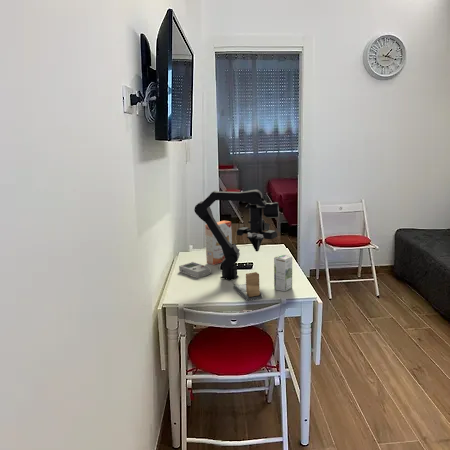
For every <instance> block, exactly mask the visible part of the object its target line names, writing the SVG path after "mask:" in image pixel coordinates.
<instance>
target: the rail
mask: <svg viewBox="0 0 450 450" xmlns="http://www.w3.org/2000/svg"><path fill="white" fill-rule="evenodd" d="M233 290H234V291H236V292H237V293H238V294H239V295H240V296H241V297H243V298H244V299H245V300H246V301H247V302H251V301H256V300H261V299H263V293H262V292H261V290H260V295H258V296H252V297H249V296H248V295H247V292H246V283H244V284H243V283H242V284H235V283H234V284H233Z"/></svg>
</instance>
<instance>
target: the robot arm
mask: <svg viewBox="0 0 450 450" xmlns="http://www.w3.org/2000/svg"><path fill="white" fill-rule="evenodd" d="M217 201H226V202H227V201H228V202H229V201H230V202H231V201H232V202H233V201H234V202H238V201H239V202H244V203H247V205H246V206H245V207H244V209H247V210H249V220H248V224H249V227H246V226H245V227H244V226H243V227H239V228H237V230H236V236H239V237H241V236H243V235H244V234H245V235H247V237H246V238H247V240H249V241H250V243H251V245H252V247H253V248H254V251H255V252H257V253H258V252H259V251H260V247H261V244H262V242H263V240H264V239H265V240H273V239H275V238H278V232H277V230H273V229H270V227H271V226H270V225H271V224H270V223H268V222H265V219H264V218H263V216H264V217H265V218H266V219H273V218H274V219H279V218H280V208H279V202H268V201H266V200H265V198H264V197H263V192H261V191H260V190H259V189H251V190H250V189H249V190H245V191H217V190H213V191H212V192H210V193H209V195H208V196H207V197H206V198H205V199H204V200H203V201H200V202H198V203H196V205H195V207H194V209H193V210H194V213H195V215H197V216H198V218H199V219H200V220H202V221H203V222H204V223H205V225H207V226H208V227H209V229H210V230H211V232H212V233H213V235H214V237H215V238H216V240H217V241H218V243H219V244H220V246H221V247H222V250H223V254H224V257H225V258H224V260H223V261H222V262H221V263H220V265H221V275H222V276H220V277H219V278H220V279H221V280H227V281H233V280H235V279H237V278H239V275H238V268H237V265H236V264H237V262H238V260H239V259H240V256H241V253H240V248H238V246H237V244H236V243H232V244H231V243H230V242H229V241H228V239H227V238H226V236H225V235H224V233H223V232H222V230H221V229H220V227H219V225H218V224H217V222H218V221H216V219H215V218H214V215H213V211H212V208H211V206H212V205H213V204H214V203H215V202H217Z"/></svg>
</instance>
